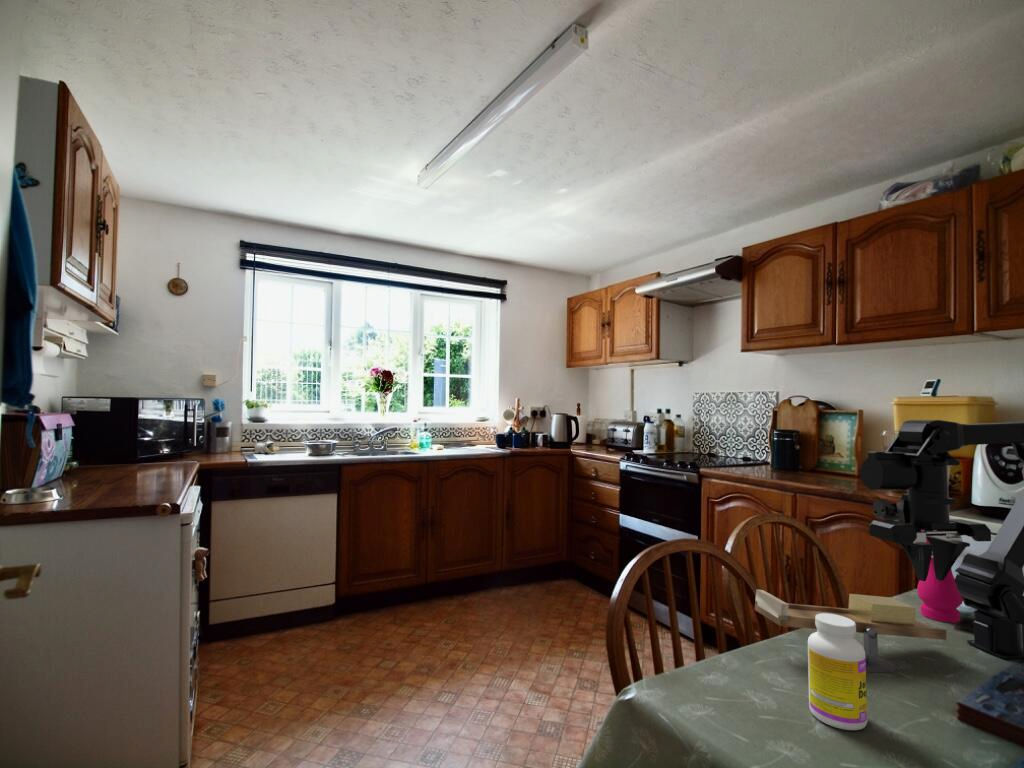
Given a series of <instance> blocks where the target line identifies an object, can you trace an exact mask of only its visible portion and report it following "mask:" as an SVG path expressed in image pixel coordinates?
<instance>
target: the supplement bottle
mask: <svg viewBox="0 0 1024 768" xmlns="http://www.w3.org/2000/svg"><path fill="white" fill-rule="evenodd" d="M815 625H816V628H817V629H816V631H815V632H812V633H811V634H810V635H808V639H807V668H808V669H807V671H808V673H807V674H808V677H807V679H808V707H809V710H810V712H811V714H812V715H813V716H814V717H815V718H816V719H817V720H818V721H820V722H822V723H824V724H826V725H828V726H831V727H833V728H836V729H840V730H845V731H860V730H863V729H864V728H865V727H866V726H867V724H868V696H867V673H866V663H865V650H864V645H862V643H860V642H859V641H858V640H856V639H855V635H856V634H857V632H856V624H855V622H854V621H853V620H851V619H849V618H846V617H843V616H840V615H835V614H828V613H821V614H817V615H816V616H815Z"/></svg>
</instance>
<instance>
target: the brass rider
mask: <svg viewBox="0 0 1024 768" xmlns="http://www.w3.org/2000/svg"><path fill="white" fill-rule="evenodd" d="M848 594H849V595H848V596H849V597H848V607H847V609H848V614H849V615H851V616H853V617H855V618H857V619H859V620H861V621H863V622H872V623H884V624H895V625H907V626H914V623H915V620H916V607H914V606H912V605H910V604H908V603H907V604H906V603H905V602H902V601H900V600H897V599H895V598H892V597H888V596H880V595H879V596H878V595H868V594H866V595H865V594H858V593H857V594H856V593H848Z"/></svg>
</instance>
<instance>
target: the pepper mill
mask: <svg viewBox="0 0 1024 768" xmlns="http://www.w3.org/2000/svg"><path fill="white" fill-rule="evenodd" d="M921 531H925V530H921ZM926 543H929V541H928V540H927V538H926ZM955 578H956V577H955V576H954V574H953V570H952V568H951V569H950V571H949V572H948V574H947V576H946V577H945V579H944V580H943V581H940V580H937V579H936V577H935V572H934V562H933V551H932V556H931V562H930V567H929V572H928V576H927V579H926V581H921V580H919V581H918V584H917V586H916V587H917V589H916V594H917V596H918V597H919V599H920V600H921V601H922V603H921V604H920V614H921V615H922V616H923V617H925V618H928V619H929V620H934V621H937V622H941V623H942V622H943V623H951V624H952V623H953V624H956V623H960V622H961V611H960V610H959V609H957V608H959V607H960V606H961V605H962V604H963V603H964V602H963V599H962V597H961V594H960V593H959V591H958V589H957V586H956V584H955ZM959 621H960V622H959Z"/></svg>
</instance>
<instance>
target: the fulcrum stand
mask: <svg viewBox="0 0 1024 768" xmlns="http://www.w3.org/2000/svg"><path fill="white" fill-rule="evenodd" d="M825 607H829V606H825ZM862 634H863V648H864V650H865V663H866V674H868V673H885V672H886V673H887V672H896V670H897V669H896V667H897V666H896V665H895V664H893V663H891V662H890V661H887V660H886V659H884V658H882V657H881V656H879V645H878V644H879V643H878V641H879V640H878V639H879V638H878V634H877V632H876V631H875V630H874V629H872V628H870V627H865V628H864V632H863V633H862Z"/></svg>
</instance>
